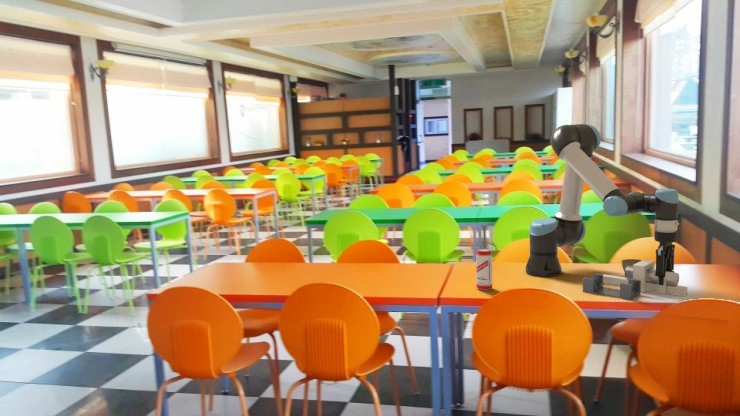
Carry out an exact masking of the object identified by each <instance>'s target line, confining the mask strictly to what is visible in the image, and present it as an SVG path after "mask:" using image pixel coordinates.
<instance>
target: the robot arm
mask: <svg viewBox="0 0 740 416" xmlns="http://www.w3.org/2000/svg"><path fill="white" fill-rule="evenodd" d="M601 140H602V139H601V133H600V131H599V130H598V128H596V127H595V126H594V125H593V124H586V123H577V124H562V125H559V126H558V127H556V128H555V129H554V131H553V132H552V134H551V137H550V145H551V149H552V150H553V152H554V155H556V156H557V157H558V158H559V159H560V161H565V166H564V167H565V168H564V175H563V181H562V186H561V187H562V188H561V196H560V200H559V201H560V202H559V207H558V208H559V209H558V211H557V212H555V214H554V217H553V218H552V217H546V218H539V219H538V218H537V219H535V220H533V221H532V222H531V221H530V224H529V231H528V233H529V257H528V260H527V263H526V265H525V273H526V274H527V275H531V276H533V277H547V278H548V277H550V278H551V277H557V276H560V275H561V274H562V273H563V271H562V270H563V269H562V265H561V263H560V260H559V259H560V258H559V257H558V248H560V247H567V246H573V245H575V244H579V243H580V242H582V241H583V239H584V238H585V236H586V232H587V231H586V229H587V227H586V225H585V222H584V221H583V217H582V216H581V215H580V211H581V205H582V198H583V192H584V185H585V184H586V185H587V186H588V188H590V189H591V191H593V193H594V194H595V195H596V196H597V197H598V198H599V199H600V200H601V201H602V203H603V204H602V208H603V211H604V213H605V214H606V215H607V216H610V217H623V216H628V215H634V214H635V215H636V214H640V213H641V214H642V213H644V214H645V213H646V214H654V230H655V231H654V241H655V242H658V243H659V245H658V246H657V249H655V270H656V274H655V276H658V289H657V292H656V293H658V294H663V295H666V276H665V273H666V271H667V272H675V269H674V268H675V248H676V245H675V244H673V243H676V242H678V232H677V231H678V226H679V225H680V222H678V220H679V217H678V216H679V213H678V212H679V203H680V200H679V191H678V190H677V189H674V188H659V189H656V190H655V193H650V192H649V193H647V192H640V191H633V192H628V193H627V194H624V192H623V191H622V190H620V188H619V187H618V186H617V185H616V184H615V183H614V182H613V180H612V179H610V177H608V176H607V174H605V173H604V171H602V170H601V168H600V167H599V166H598V165H597V164H596V163H595V162H594V161H593V160H592V158H593V155H594V152H595V151H596V150H597V149H598V148H599V147H600V144H601Z"/></svg>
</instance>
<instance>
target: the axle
mask: <svg viewBox="0 0 740 416" xmlns="http://www.w3.org/2000/svg"><path fill="white" fill-rule="evenodd" d="M655 274H656V269H654V270H652V269H646V282H651V283H657V284H658V276H655ZM665 276H666V285H671V286H677V285H679V283H680V274H679V272H675V271H674V272H667V271H666V273H665ZM624 277H625V278H626V279H633V267H630V266H627V267H626V269H625V272H624Z"/></svg>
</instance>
